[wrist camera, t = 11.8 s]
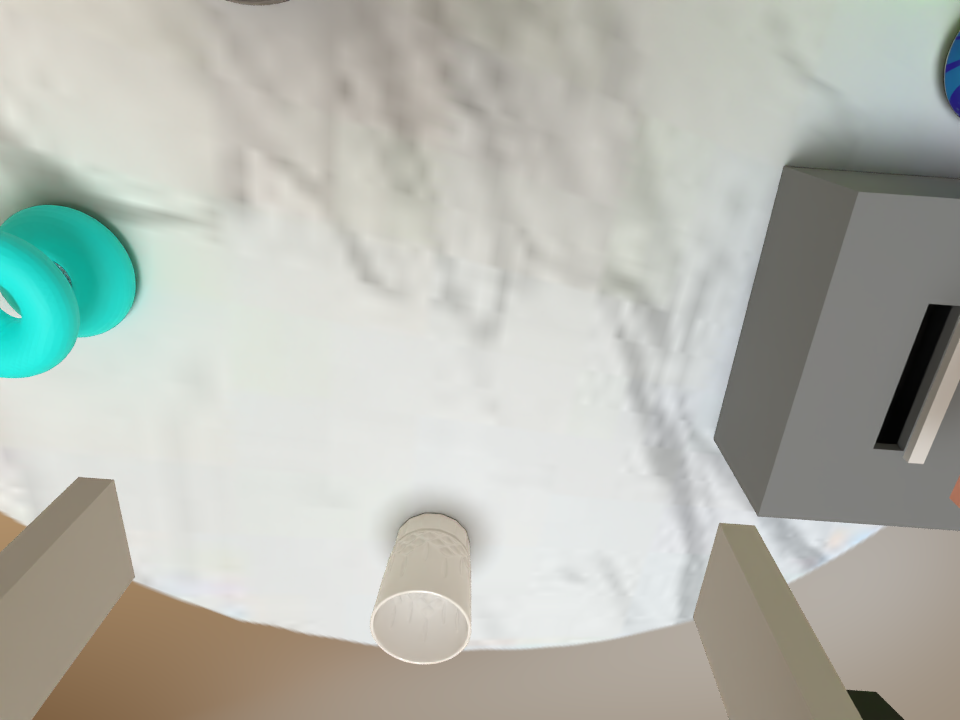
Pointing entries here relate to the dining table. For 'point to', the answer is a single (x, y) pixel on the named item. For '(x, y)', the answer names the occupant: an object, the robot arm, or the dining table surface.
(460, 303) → the dining table surface
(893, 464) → the dispenser
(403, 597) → the white cup
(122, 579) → the robot arm
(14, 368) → the donuts
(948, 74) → the beer can
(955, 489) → the ticket
